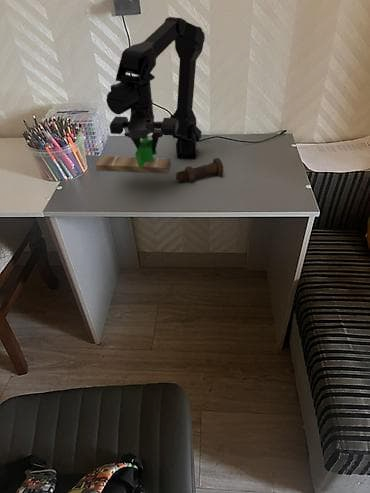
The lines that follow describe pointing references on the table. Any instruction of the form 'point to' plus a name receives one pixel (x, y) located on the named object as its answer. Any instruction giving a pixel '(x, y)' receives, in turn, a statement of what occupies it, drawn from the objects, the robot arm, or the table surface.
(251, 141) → the table surface
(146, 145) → the pipe clamp
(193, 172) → the bolt
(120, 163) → the brown wooden plank
